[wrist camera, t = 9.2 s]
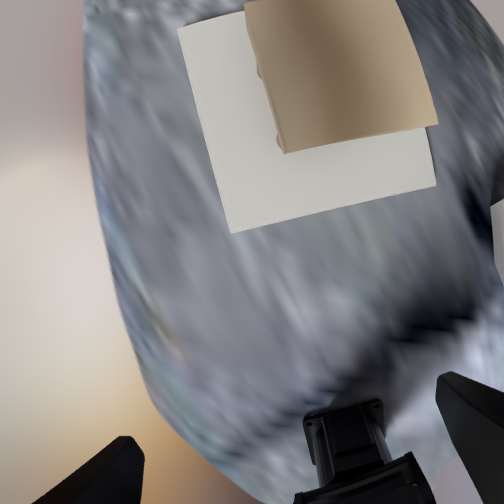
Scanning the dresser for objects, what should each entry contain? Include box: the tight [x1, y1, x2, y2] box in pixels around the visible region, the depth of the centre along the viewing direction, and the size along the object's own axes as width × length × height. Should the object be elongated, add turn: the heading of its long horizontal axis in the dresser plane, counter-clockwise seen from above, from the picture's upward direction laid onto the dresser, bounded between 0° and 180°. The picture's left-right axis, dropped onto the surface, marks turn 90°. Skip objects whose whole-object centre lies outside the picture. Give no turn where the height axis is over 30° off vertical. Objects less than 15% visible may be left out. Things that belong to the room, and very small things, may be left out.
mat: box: [177, 11, 436, 234], centre depth 17 cm, size 13×13×1 cm
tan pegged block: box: [244, 0, 439, 155], centre depth 13 cm, size 6×6×7 cm
